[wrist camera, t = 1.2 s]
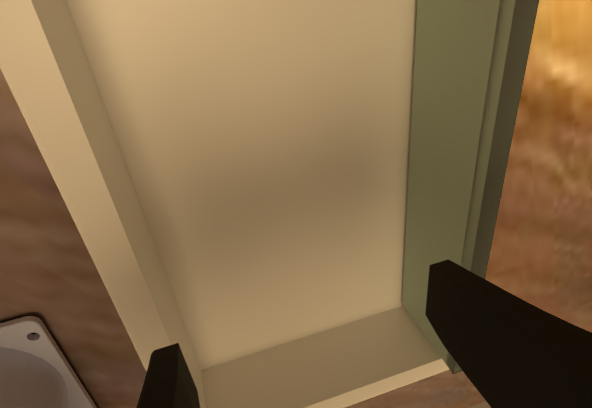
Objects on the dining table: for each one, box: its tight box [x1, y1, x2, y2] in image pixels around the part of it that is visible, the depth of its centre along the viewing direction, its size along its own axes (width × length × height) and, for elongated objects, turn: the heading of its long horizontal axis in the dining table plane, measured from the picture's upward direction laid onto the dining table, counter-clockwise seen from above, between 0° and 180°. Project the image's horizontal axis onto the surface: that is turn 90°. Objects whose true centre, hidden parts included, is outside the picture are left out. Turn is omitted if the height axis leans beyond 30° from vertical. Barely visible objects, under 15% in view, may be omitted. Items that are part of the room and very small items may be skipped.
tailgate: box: [402, 0, 539, 374], centre depth 17 cm, size 19×1×5 cm, turn 6°
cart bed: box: [0, 0, 449, 408], centre depth 17 cm, size 22×14×6 cm, turn 6°
